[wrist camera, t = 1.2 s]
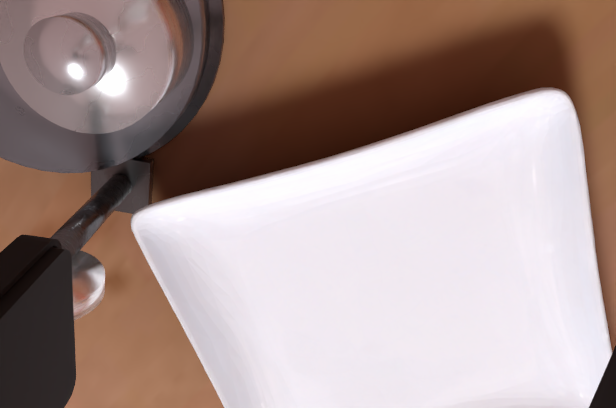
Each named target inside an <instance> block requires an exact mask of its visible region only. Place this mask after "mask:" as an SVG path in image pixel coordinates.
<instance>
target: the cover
mask: <svg viewBox="0 0 616 408" xmlns="http://www.w3.org/2000/svg"><path fill="white" fill-rule="evenodd" d="M193 50H194V31H193V25H192V20H191V16H190V14H189V11H188V8H187V6H186V4H185V2H184V0H0V63H1V66H2V68H3V70H4V72H5V74H6V76H7V78H8V80H9V82H10V83H11V85H12V86H13V88H14V89H15V91H16V92H17V93H18V94H19V96H20V97H21V98H22V99H23V100H24V101H25V102H26V103H27V104H28V105H29V106H30V107H31V108H32V109H33V110H35V111H36V112H37V113H38V114H40V115H41V116H43V117H44V118H46V119H47V120H49V121H51V122H53V123H55V124H57V125H59V126H61V127H64V128H66V129H69V130H72V131H77V132H81V133H90V134H103V133H110V132H115V131H118V130H121V129H124V128H126V127H128V126H130V125H132V124H134V123H135V122H137V121H138V120H140V119H141V118H142V117H144V116H145V115H146V114H147V113H148V112H149V111H151V110H152V109H153V108H154V107H155V106H156V105H158V104H159V103H160V102H161V101H162V100H164V99H165V98H166V97H167V96H168V95H169V94H170V93H172V92H173V91H174V90H175V89H176V88H177V87H178V86H179V84H180V83H181V82H182V80H183V79H184V77H185V76H186V74H187V72H188V69H189V67H190V64H191V61H192V57H193Z"/></svg>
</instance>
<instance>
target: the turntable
mask: <svg viewBox="0 0 616 408" xmlns="http://www.w3.org/2000/svg"><path fill="white" fill-rule="evenodd" d="M184 2H185V4H186V6H187V8H188V11H189V14H190V16H191V20H192V25H193V31H194V50H193V57H192V61H191V64H190V67H189V69H188V72H187V74H186V76H185V77H184V79H183V80H182V82H181V83H180V84H179V86H178V87H177V88H176V89H175V90H174V91H173V92H172V93H170V94H169V95H168V96H167V97H166V98H165V99H164V100H162V101H161V102H160V103H159V104H158V105H156V106H155V107H154V108H153V109H152V110H151V111H149V112H148V113H147V114H146V115H145V116H144V117H142V118H141V119H140V120H138V121H137V122H135V123H134V124H132V125H130V126H128V127H126V128H124V129H121V130H118V131H115V132H110V133H103V134H90V133H81V132H77V131H72V130H69V129H66V128H64V127H61V126H59V125H57V124H55V123H53V122H51V121H49V120H47V119H46V118H44V117H43V116H41V115H40V114H38V113H37V112H36V111H35V110H33V109H32V108H31V107H30V106H29V105H28V104H27V103H26V102H25V101H24V100H23V99H22V98H21V97H20V96H19V94H18V93H17V92H16V91H15V89H14V88H13V86H12V85H11V83H10V82H9V80H8V78H7V76H6V74H5V72H4V70H3V68H2V66H1V63H0V157H1V158H3V159H5V160H8V161H11V162H14V163H17V164H19V165H22V166H25V167H29V168H34V169H38V170H42V171H50V172H59V173H83V172H90V171H97V170H102V169H105V168H109V167H112V166H116V165H119V164H121V163H123V162H125V161H127V160H130V159H132V158H134V157H136V156H137V155H139V154H140V153H142V152H143V151H145V150H147V149H148V148H149V147H151V146H152V145H153V144H154V143H155V142H156V141H157V140H159V139H160V138H161V137H162V136H163V135H164V134H165V133H166V132H167V131H168V130H169V129H170V128H171V127H172V126H173V125H174V123H175V122H176V121H177V120H178V119H179V118H180V116H181V115H182V114H183V113H184V112H185V110H186V109H187V107H188V105H189V104H190V102H191V101H192V99H193V97H194V96H195V93H196V91H197V89H198V87H199V84H200V82H201V80H202V77H203V73H204V70H205V66H206V63H207V58H208V51H209V45H210V12H209V2H208V0H184Z"/></svg>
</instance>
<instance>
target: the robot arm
mask: <svg viewBox="0 0 616 408" xmlns="http://www.w3.org/2000/svg"><path fill="white" fill-rule="evenodd" d="M75 380H76V364H75V337H74V311H73V285H72V259H71V253H70V251H69V250H67V249H62V246H61V243H60V241H58V240H57V239H51V238H44V237H37V236H30V235H21V236H19V237H17V238H16V239H15V240H14V241H13V242H12V243H11V244H9V245H8V246H7V247H6V248H5V249H4V250H3V251H2V252H0V408H64V407H65V405H66V404H67V402H68V400H69V399H70V397H71V395H72V392H73V389H74V386H75ZM589 408H616V346H615V348H614V351H613V353H612V355H611V358H610V360H609V362H608V365H607V367H606V369H605V372H604V374H603V376H602V378H601V381H600V383H599V385H598V388H597V390H596V392H595V395H594V397H593V399H592V402H591V404H590V406H589Z"/></svg>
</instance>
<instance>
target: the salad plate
mask: <svg viewBox="0 0 616 408" xmlns="http://www.w3.org/2000/svg"><path fill="white" fill-rule="evenodd" d="M131 228H132V231H133V233H134V235H135V237H136V240H137V242H138V244H139V246H140V248H141V250H142V252H143V254H144V256H145V258H146V260H147V262H148V264H149V266H150V268H151V269H152V271H153V273H154V275H155V277H156V279H157V280H158V282H159V284H160V286H161V288H162V290H163V292H164V293H165V295H166V297H167V299H168V301H169V303H170V305H171V307H172V308H173V310H174V312H175V314H176V316H177V318H178V319H179V321H180V323H181V325H182V327H183V329H184V331H185V333H186V335H187V336H188V338H189V340H190V342H191V344H192V346H193V348H194V349H195V351H196V353H197V355H198V357H199V359H200V361H201V363H202V365H203V367H204V369H205V371H206V373H207V375H208V377H209V379H210V381H211V382H212V384H213V386H214V388H215V390H216V392H217V394H218V396H219V398H220V400H221V402H222V404H223V406H224V408H589V406H590V404H591V402H592V399H593V397H594V395H595V392H596V390H597V388H598V385H599V383H600V381H601V378H602V376H603V374H604V372H605V369H606V367H607V365H608V362H609V360H610V358H611V355H612V348H611V343H610V337H609V331H608V325H607V319H606V313H605V307H604V301H603V295H602V289H601V283H600V277H599V271H598V264H597V256H596V249H595V239H594V231H593V223H592V216H591V208H590V199H589V191H588V183H587V175H586V167H585V157H584V147H583V141H582V135H581V129H580V124H579V120H578V116H577V112H576V110H575V107H574V104H573V102H572V100H571V98H570V97H569V95H568V94H567V93H566V92H565V91H562V90H560V89H557V88H552V87H548V88H538V89H534V90H530V91H526V92H523V93H520V94H516V95H513V96H510V97H506V98H503V99H500V100H497V101H494V102H491V103H488V104H485V105H482V106H479V107H476V108H473V109H471V110H468V111H465V112H462V113H459V114H456V115H454V116H451V117H448V118H445V119H442V120H440V121H437V122H434V123H431V124H428V125H426V126H423V127H420V128H417V129H414V130H411V131H408V132H405V133H402V134H399V135H396V136H393V137H390V138H387V139H384V140H381V141H378V142H375V143H372V144H369V145H366V146H363V147H359V148H356V149H353V150H350V151H346V152H343V153H340V154H337V155H333V156H330V157H327V158H324V159H320V160H316V161H313V162H309V163H306V164H302V165H298V166H295V167H291V168H287V169H283V170H279V171H276V172H272V173H268V174H264V175H261V176H257V177H253V178H249V179H245V180H241V181H237V182H233V183H229V184H225V185H221V186H217V187H213V188H208V189H204V190H200V191H196V192H192V193H188V194H184V195H180V196H177V197H173V198H170V199H166V200H163V201H159V202H156V203H153V204H150V205H147V206H145V207H143V208H141V209H139V210H137V211H136V212H135V213H134V214H133V215H132V217H131Z"/></svg>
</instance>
